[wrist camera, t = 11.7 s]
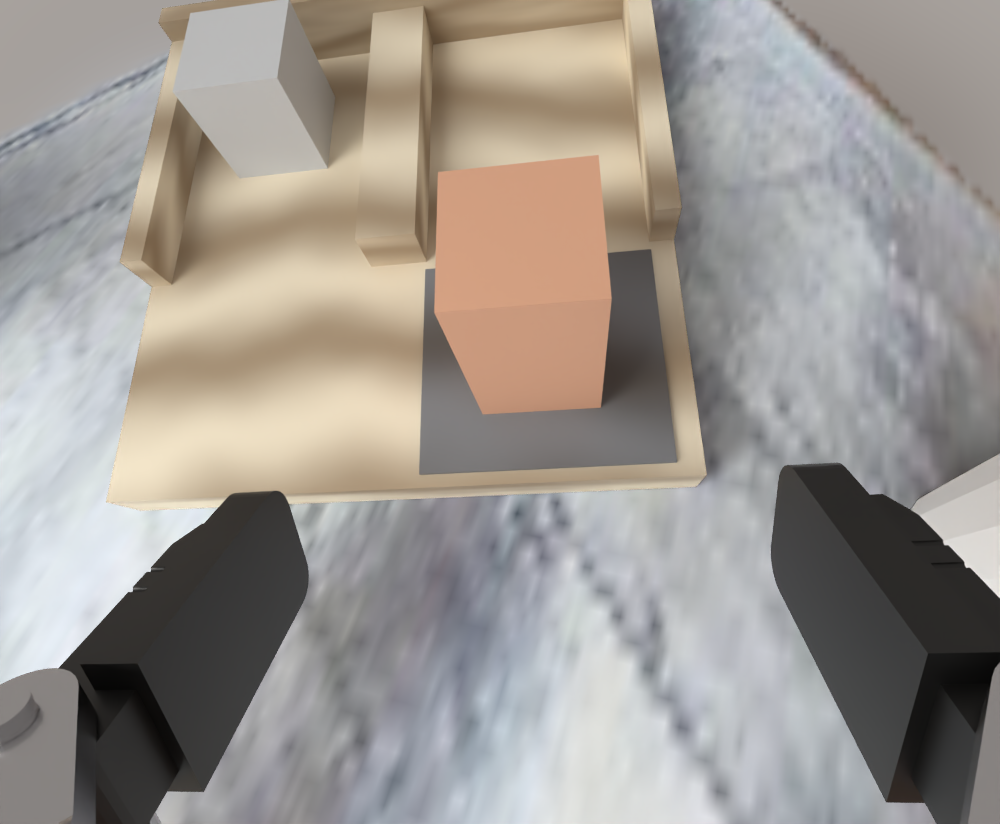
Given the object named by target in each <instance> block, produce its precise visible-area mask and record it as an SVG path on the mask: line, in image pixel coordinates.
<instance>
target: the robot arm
mask: <svg viewBox="0 0 1000 824" xmlns="http://www.w3.org/2000/svg"><path fill="white" fill-rule="evenodd" d="M771 561H772V568H773V573H774V577H775V581H776V584H777V586H778V589H779V591H780V593H781V595H782V597H783V599H784V601H785V603H786V605H787V607H788V609H789V611H790V613H791V615H792V617H793V619H794V621H795V623H796V625H797V627H798V629H799V630H800V632H801V634H802V636H803V638H804V640H805V642H806V644H807V646H808V648H809V650H810V652H811V654H812V656H813V658H814V660H815V662H816V664H817V666H818V668H819V670H820V672H821V674H822V676H823V678H824V680H825V682H826V684H827V686H828V688H829V690H830V692H831V694H832V696H833V698H834V700H835V702H836V704H837V706H838V708H839V710H840V712H841V714H842V716H843V718H844V720H845V722H846V724H847V726H848V728H849V730H850V731H851V733H852V735H853V737H854V739H855V741H856V743H857V745H858V747H859V749H860V751H861V753H862V755H863V757H864V759H865V761H866V763H867V765H868V767H869V769H870V771H871V773H872V775H873V777H874V779H875V781H876V783H877V785H878V787H879V789H880V791H881V793H882V795H883V797H884V799H885V801H886V802H900V803H925V804H926V806H927V807H928V809H929V811H930V813H931V814H932V816H933V818H934V820H935V822H936V823H937V824H1000V598H999V597H998V596H997V595H996V594H995V593H994V592H993V591H992V590H991V589H990V588H989V586H988V585H987V584H986V583H985V582H984V581H983V580H982V579H981V578H980V577H979V576H978V575H977V574H976V573H975V572H974V571H973V570H972V569H971V568H966V567H965V564H964V561H963V560H962V559H961V558H960V557H959V556H958V555H957V554H956V553H955V551H954V550H953V549H952V548H951V547H950V546H949V545H944V543H943V539H942V538H941V537H940V536H939V535H938V534H937V533H936V532H935V531H934V530H933V529H932V528H931V527H930V526H929V525H928V524H927V523H926V522H925V521H924V520H923V519H922V518H921V516H920V515H918V514H917V513H915V512H913V511H911V510H910V509H908V508H906V507H904V506H903V505H901V504H899V503H897V502H896V501H894V500H892V499H890V498H889V497H887V496H885V495H883V494H875V495H869V493H868V492H867V491H866V490H865V489H864V488H863V487H862V486H861V484H860V483H859V482H858V481H857V480H856V479H855V478H854V477H853V475H852V474H851V473H850V472H849V471H848V470H847V469H846V468H845V467H844V466H843V465H842V464H840V463H823V464H803V465H787V466H784V467H783V468H782V470H781V472H780V476H779V481H778V490H777V499H776V508H775V517H774V526H773V535H772V544H771ZM308 578H309V574H308V565H307V561H306V558H305V555H304V551H303V548H302V545H301V542H300V539H299V535H298V532H297V529H296V526H295V523H294V519H293V516H292V513H291V510H290V507H289V504H288V501H287V499H286V497H285V496H284V494H283V493H281V492H280V491H259V492H240V493H233V494H231V495H229V496H228V497H227V498H226V499H225V501H224V502H223V503H222V504H221V505H220V506H219V507H218V509H217V510H216V511H215V512H214V513H213V514H212V515H211V516H210V518H209V519H208V520H207V521H206V522H205V523H204V524H201V525H200V526H198V527H197V528H195V529H194V530H192V531H191V532H189V533H188V534H187V535H185V536H184V537H182V538H181V539H179V540H178V541H176V542H175V543H173V544H172V545H171V546H170V547H169V548H168V549H167V551H166V552H165V553H164V554H163V555H162V556H161V557H160V558H159V559H158V560H157V561H156V563H155V564H154V565H153V566H152V567H151V572H146V573H145V575H144V576H143V577H142V578H141V579H140V580H139V581H138V582H137V583H136V584H135V585H134V587H133V592H128V593H127V594H126V595H125V596H124V597H123V599H122V600H121V601H120V602H119V603H118V604H117V605H116V606H115V607H114V608H113V609H112V611H111V612H110V613H109V614H108V615H107V616H106V617H105V618H104V619H103V620H102V621H101V623H100V624H99V625H98V626H97V627H96V628H95V629H94V630H93V631H92V632H91V633H90V635H89V636H88V637H87V638H86V639H85V640H84V641H83V642H82V643H81V644H80V645H79V647H78V648H77V649H76V650H75V651H74V652H73V653H72V654H71V655H70V656H69V657H68V659H67V660H66V661H65V662H64V663H63V664H62V665H61V666H60V667H59V668H52V669H43V670H37V671H34V672H30V673H27V674H24V675H21V676H19V677H16V678H13V679H11V680H9V681H7V682H5V683H3V684H1V685H0V824H161V822H160V820H159V818H158V816H157V814H156V813H155V812H156V810H157V808H158V806H159V805H160V803H161V801H162V799H163V798H164V796H165V794H166V793H167V791H180V792H204V790H205V788H206V787H207V785H208V783H209V781H210V779H211V777H212V775H213V773H214V771H215V769H216V767H217V766H218V764H219V762H220V760H221V758H222V756H223V754H224V752H225V750H226V748H227V746H228V745H229V743H230V741H231V739H232V737H233V735H234V733H235V731H236V729H237V727H238V726H239V724H240V722H241V720H242V718H243V716H244V714H245V712H246V710H247V708H248V706H249V705H250V703H251V701H252V699H253V697H254V695H255V693H256V691H257V689H258V687H259V685H260V684H261V682H262V680H263V678H264V676H265V674H266V672H267V670H268V668H269V666H270V664H271V663H272V661H273V659H274V657H275V655H276V653H277V651H278V649H279V647H280V645H281V644H282V642H283V640H284V638H285V636H286V634H287V632H288V630H289V628H290V626H291V624H292V623H293V621H294V619H295V617H296V615H297V613H298V611H299V609H300V607H301V605H302V603H303V601H304V599H305V596H306V593H307V588H308Z"/></svg>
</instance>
